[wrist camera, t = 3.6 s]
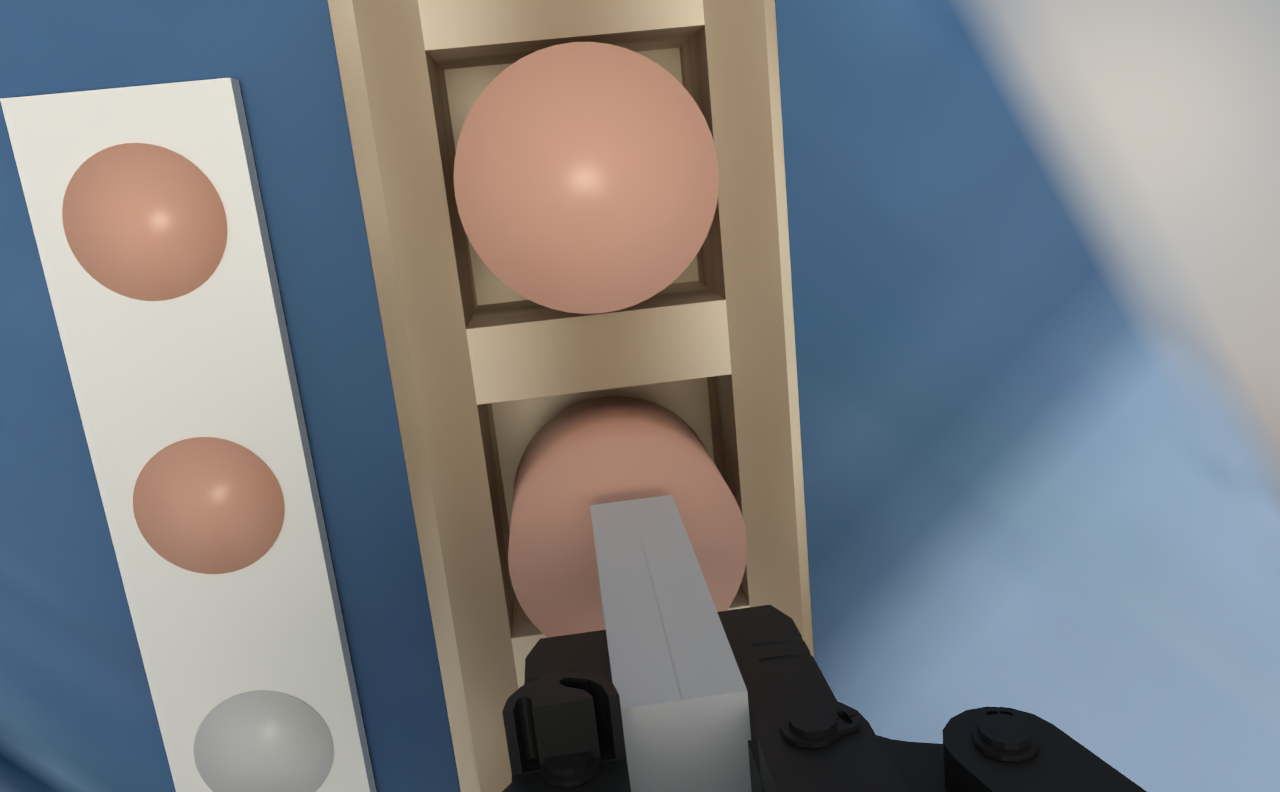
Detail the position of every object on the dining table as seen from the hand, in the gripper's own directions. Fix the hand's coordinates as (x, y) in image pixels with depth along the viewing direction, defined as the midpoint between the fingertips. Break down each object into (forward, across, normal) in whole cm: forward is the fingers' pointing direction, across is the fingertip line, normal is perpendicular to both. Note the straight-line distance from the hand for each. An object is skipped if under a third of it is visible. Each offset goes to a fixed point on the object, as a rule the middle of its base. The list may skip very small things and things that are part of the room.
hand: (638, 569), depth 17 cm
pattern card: (+8, -10, 0) cm, 13 cm away
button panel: (+8, 0, 0) cm, 8 cm away
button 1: (+4, 0, +7) cm, 8 cm away
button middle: (+4, 0, 0) cm, 4 cm away
